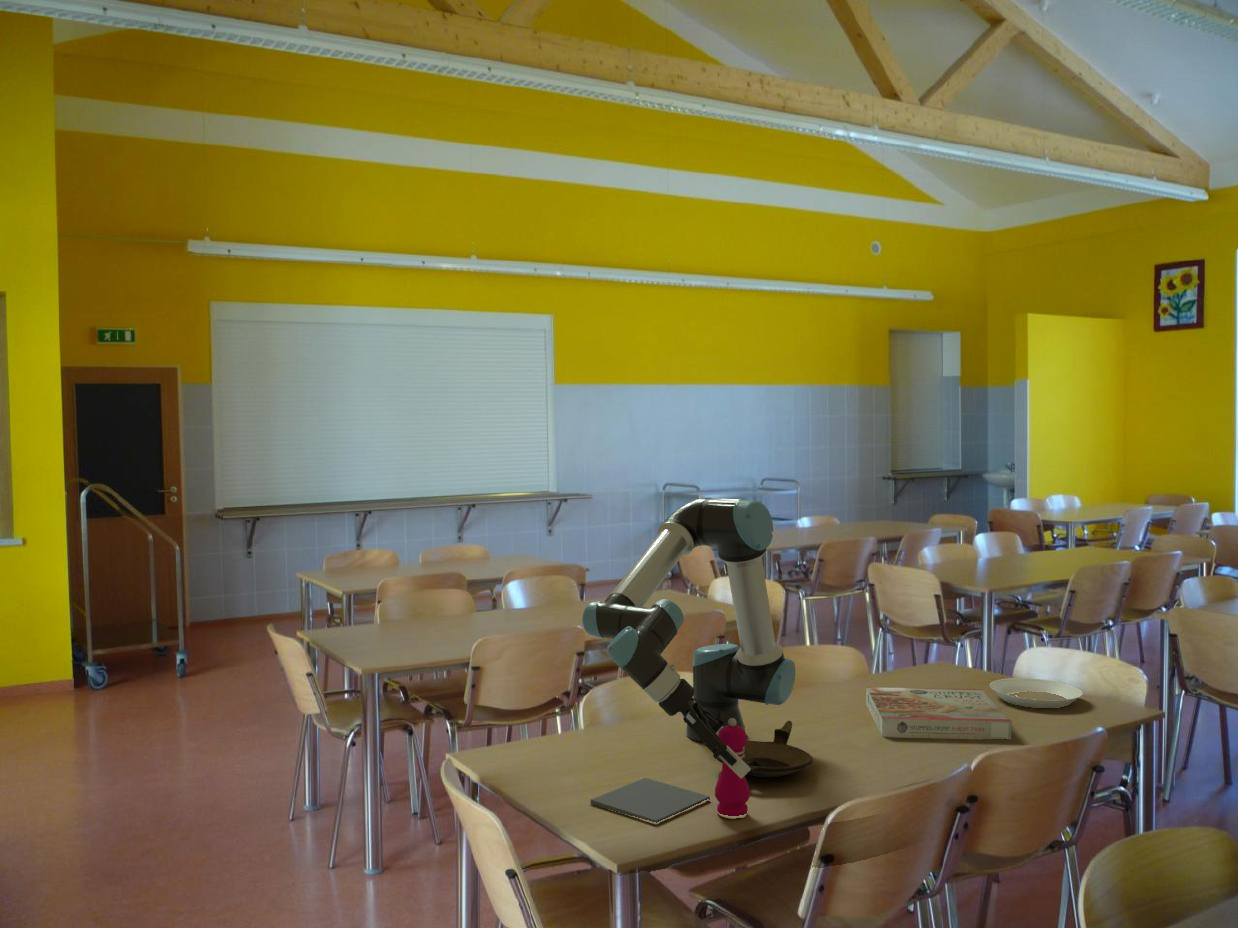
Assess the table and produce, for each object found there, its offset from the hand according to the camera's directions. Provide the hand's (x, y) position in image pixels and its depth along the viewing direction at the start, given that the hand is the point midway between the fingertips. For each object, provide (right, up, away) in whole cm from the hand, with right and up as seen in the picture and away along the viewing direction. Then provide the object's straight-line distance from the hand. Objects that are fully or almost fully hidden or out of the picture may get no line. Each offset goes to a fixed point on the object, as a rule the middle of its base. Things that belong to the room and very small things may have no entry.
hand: (742, 762), depth 218 cm
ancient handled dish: (+10, -10, +27) cm, 31 cm away
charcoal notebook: (-19, -11, +7) cm, 23 cm away
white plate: (+94, -7, +87) cm, 129 cm away
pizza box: (+59, -8, +67) cm, 90 cm away
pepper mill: (-2, -11, +1) cm, 11 cm away
